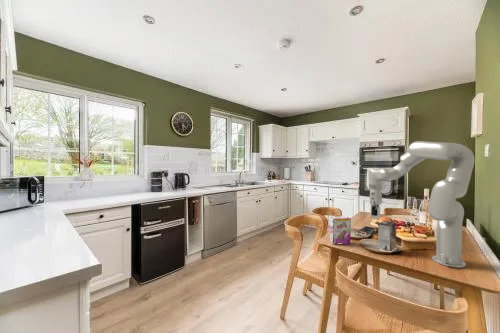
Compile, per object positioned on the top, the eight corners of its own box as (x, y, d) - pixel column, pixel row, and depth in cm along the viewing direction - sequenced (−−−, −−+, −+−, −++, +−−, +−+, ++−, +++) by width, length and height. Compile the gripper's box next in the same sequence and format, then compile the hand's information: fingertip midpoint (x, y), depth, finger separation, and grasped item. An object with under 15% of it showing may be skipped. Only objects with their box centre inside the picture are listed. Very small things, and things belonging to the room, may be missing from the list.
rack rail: (367, 237, 151) (367, 234, 151) (355, 234, 157) (355, 231, 157) (377, 230, 165) (377, 228, 165) (365, 228, 171) (365, 226, 171)
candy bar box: (333, 245, 138) (333, 218, 137) (329, 242, 143) (330, 216, 142) (351, 244, 138) (351, 218, 138) (347, 241, 143) (347, 216, 143)
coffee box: (384, 247, 134) (384, 220, 133) (396, 250, 129) (396, 222, 128) (377, 251, 128) (377, 223, 127) (390, 254, 123) (390, 225, 123)
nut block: (378, 218, 145) (378, 207, 145) (370, 217, 148) (370, 206, 148) (380, 217, 148) (380, 206, 148) (373, 216, 152) (372, 205, 152)
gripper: (377, 188, 140) (377, 217, 140) (385, 186, 152) (385, 213, 152) (364, 187, 145) (365, 216, 145) (373, 186, 157) (373, 212, 157)
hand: (375, 214), depth 148 cm, fingers closed on nut block, 4 cm apart
